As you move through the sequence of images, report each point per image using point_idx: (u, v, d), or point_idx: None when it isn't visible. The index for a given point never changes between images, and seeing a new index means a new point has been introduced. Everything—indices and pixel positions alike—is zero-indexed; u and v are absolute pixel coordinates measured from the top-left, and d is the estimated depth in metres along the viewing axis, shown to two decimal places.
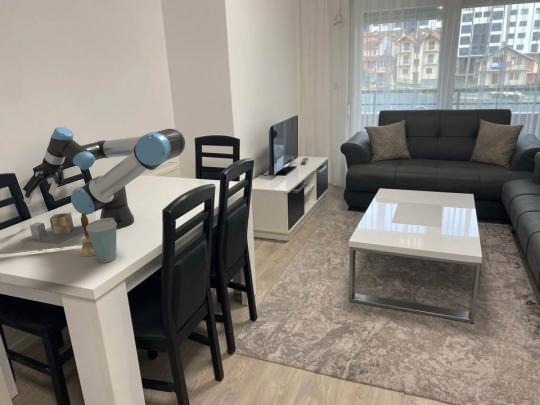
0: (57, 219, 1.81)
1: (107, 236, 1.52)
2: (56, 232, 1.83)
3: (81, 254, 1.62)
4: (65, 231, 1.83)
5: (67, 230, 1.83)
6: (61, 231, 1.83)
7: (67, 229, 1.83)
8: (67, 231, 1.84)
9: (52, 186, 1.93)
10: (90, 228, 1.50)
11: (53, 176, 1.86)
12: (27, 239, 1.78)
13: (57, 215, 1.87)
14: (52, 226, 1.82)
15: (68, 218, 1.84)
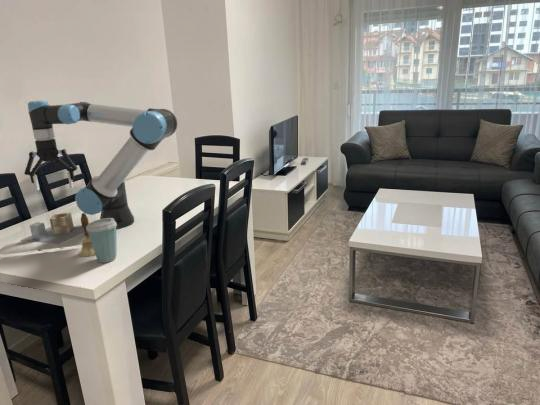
0: (57, 219, 1.81)
1: (107, 236, 1.52)
2: (56, 232, 1.83)
3: (81, 254, 1.62)
4: (65, 231, 1.83)
5: (67, 230, 1.83)
6: (61, 231, 1.83)
7: (67, 229, 1.83)
8: (67, 231, 1.84)
9: None
10: (90, 228, 1.50)
11: (55, 160, 1.77)
12: (27, 239, 1.78)
13: (57, 215, 1.87)
14: (52, 226, 1.82)
15: (68, 218, 1.84)
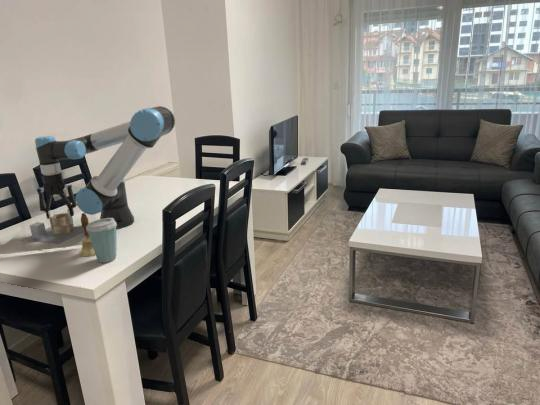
0: (57, 219, 1.81)
1: (107, 236, 1.52)
2: (56, 232, 1.83)
3: (81, 254, 1.62)
4: (65, 231, 1.83)
5: (67, 230, 1.83)
6: (61, 231, 1.83)
7: (67, 229, 1.83)
8: (67, 231, 1.84)
9: None
10: (90, 228, 1.50)
11: (60, 194, 1.81)
12: (27, 239, 1.78)
13: (57, 215, 1.87)
14: (52, 226, 1.82)
15: (68, 218, 1.84)
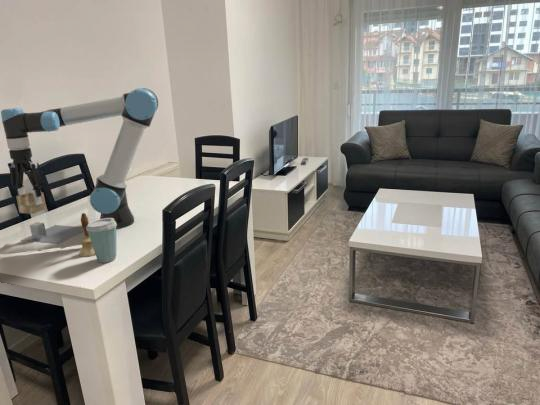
0: (21, 198, 1.70)
1: (107, 236, 1.52)
2: (22, 211, 1.72)
3: (81, 254, 1.62)
4: (28, 211, 1.71)
5: (30, 211, 1.71)
6: (26, 211, 1.71)
7: (30, 210, 1.70)
8: (30, 212, 1.71)
9: None
10: (90, 228, 1.50)
11: None
12: (27, 239, 1.78)
13: (31, 193, 1.76)
14: (18, 204, 1.72)
15: (33, 198, 1.70)
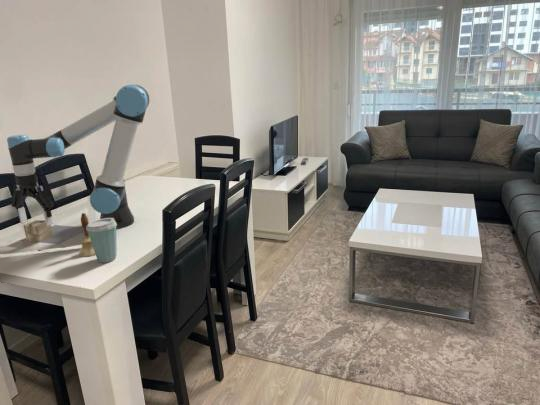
0: (29, 227, 1.74)
1: (107, 236, 1.52)
2: (29, 239, 1.76)
3: (81, 254, 1.62)
4: (36, 239, 1.75)
5: (37, 239, 1.74)
6: (33, 239, 1.75)
7: (37, 238, 1.74)
8: (37, 240, 1.74)
9: None
10: (90, 228, 1.50)
11: None
12: None
13: (38, 221, 1.80)
14: (26, 233, 1.75)
15: (40, 227, 1.74)
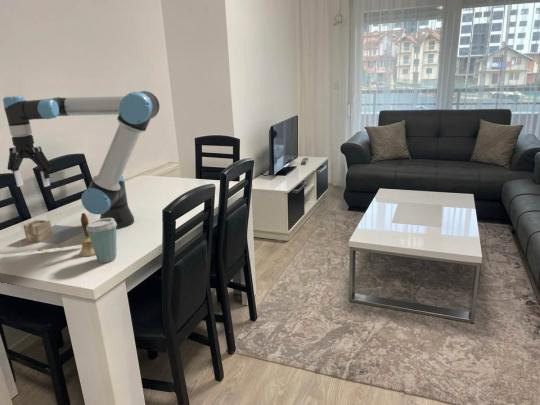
0: (29, 227, 1.74)
1: (107, 236, 1.52)
2: (29, 239, 1.76)
3: (81, 254, 1.62)
4: (36, 239, 1.75)
5: (37, 239, 1.74)
6: (33, 239, 1.75)
7: (37, 238, 1.74)
8: (37, 240, 1.74)
9: None
10: (90, 228, 1.50)
11: None
12: None
13: (38, 221, 1.80)
14: (26, 233, 1.75)
15: (40, 227, 1.74)
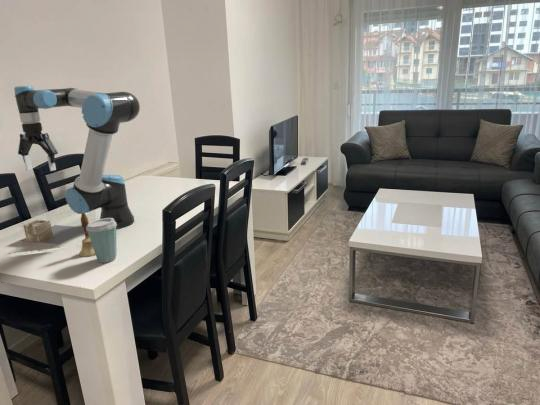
0: (29, 227, 1.74)
1: (107, 236, 1.52)
2: (29, 239, 1.76)
3: (81, 254, 1.62)
4: (36, 239, 1.75)
5: (37, 239, 1.74)
6: (33, 239, 1.75)
7: (37, 238, 1.74)
8: (37, 240, 1.74)
9: None
10: (90, 228, 1.50)
11: None
12: None
13: (38, 221, 1.80)
14: (26, 233, 1.75)
15: (40, 227, 1.74)
